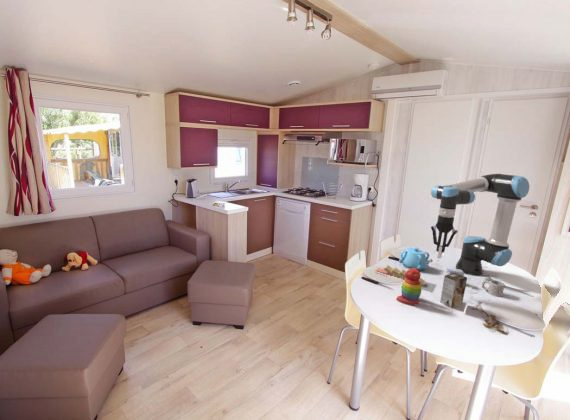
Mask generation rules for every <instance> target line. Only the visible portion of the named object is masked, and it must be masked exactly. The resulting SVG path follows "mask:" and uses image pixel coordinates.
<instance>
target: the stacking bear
mask: <svg viewBox="0 0 570 420" xmlns="http://www.w3.org/2000/svg"><path fill="white" fill-rule="evenodd" d="M405 271H406V272H405V276H406V278H405V280H404V282H403V283H401V284H402V285H401V294H400V295H398V296H396V298H395V299H396V302H399V303H401V304H404V305H408V306H417V305H419V303H420V300H419V299H420V297H421V295H422V289H421V283H420V281H419V279H420V278H421V275H422V274H421V272H420V270H418V269H417V268H415V269H414V268H411V269H409V268H408V270H405Z"/></svg>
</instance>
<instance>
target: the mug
mask: <svg viewBox="0 0 570 420" xmlns="http://www.w3.org/2000/svg"><path fill="white" fill-rule="evenodd" d="M486 284H489V286H488V287H485V285H486ZM505 286H506V284H505V283H504V282H502V281H499V280H495V279H491V280H483V282H482V284H481V288H482V289H483V290H486V291H487V292H488V294H490V295H491V296H495V297H499V298H500V297H503V293H504V290H505Z"/></svg>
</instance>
